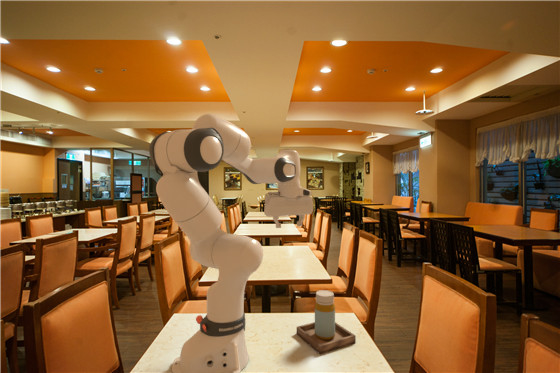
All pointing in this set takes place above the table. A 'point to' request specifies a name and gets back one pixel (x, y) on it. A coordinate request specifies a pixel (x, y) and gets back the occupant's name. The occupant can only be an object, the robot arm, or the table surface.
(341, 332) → the serving tray
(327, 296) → the bottle
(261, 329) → the table surface
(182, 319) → the table surface
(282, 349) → the table surface
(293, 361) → the table surface
